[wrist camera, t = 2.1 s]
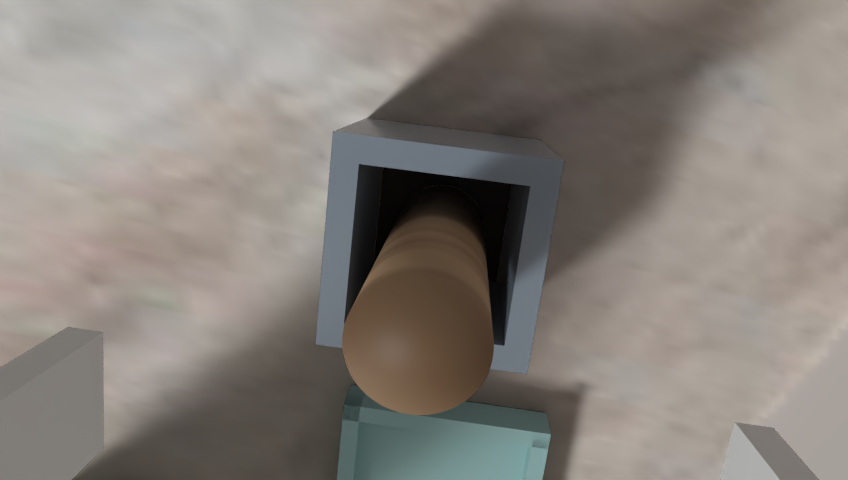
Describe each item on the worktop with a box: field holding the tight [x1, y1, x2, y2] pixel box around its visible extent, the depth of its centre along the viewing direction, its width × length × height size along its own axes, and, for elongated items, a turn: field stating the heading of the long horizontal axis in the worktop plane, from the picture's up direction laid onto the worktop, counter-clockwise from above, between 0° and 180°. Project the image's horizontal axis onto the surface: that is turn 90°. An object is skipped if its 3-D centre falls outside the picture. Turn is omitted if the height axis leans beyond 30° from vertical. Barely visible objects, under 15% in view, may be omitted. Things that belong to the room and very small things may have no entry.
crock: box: [316, 118, 564, 374], centre depth 27 cm, size 8×8×8 cm
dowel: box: [342, 185, 494, 415], centre depth 24 cm, size 4×4×14 cm
